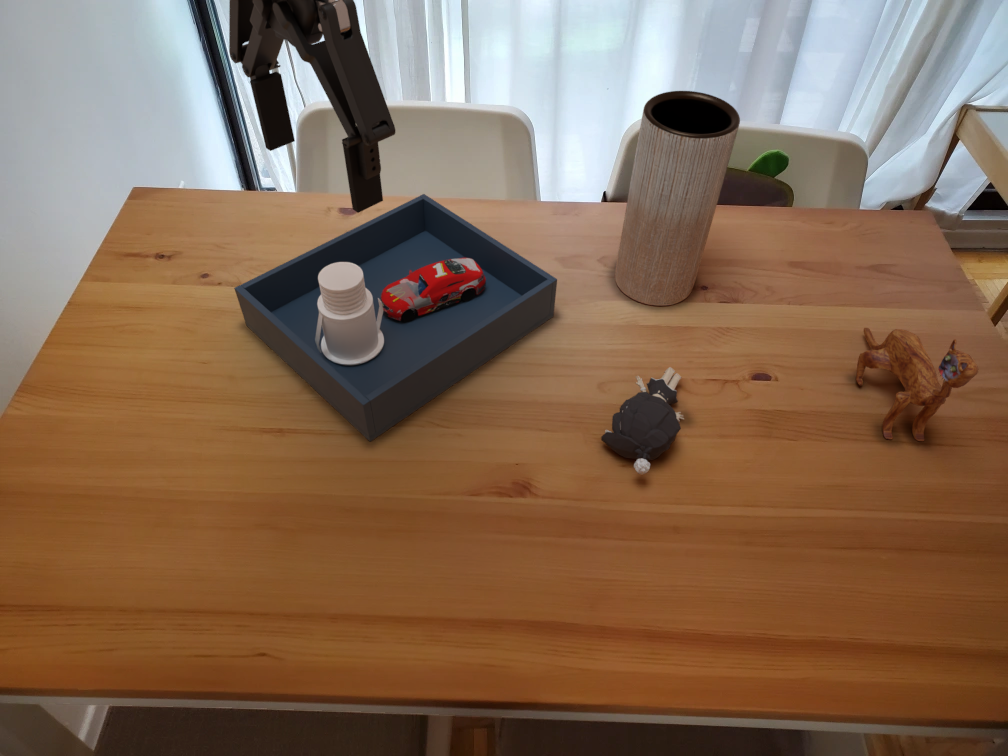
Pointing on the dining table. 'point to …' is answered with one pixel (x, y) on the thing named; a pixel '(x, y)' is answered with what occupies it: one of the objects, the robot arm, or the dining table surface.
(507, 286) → the tote
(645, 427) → the figurine
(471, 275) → the race car
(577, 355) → the dining table surface
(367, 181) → the robot arm
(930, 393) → the cat figurine
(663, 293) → the planter
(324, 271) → the downlight
